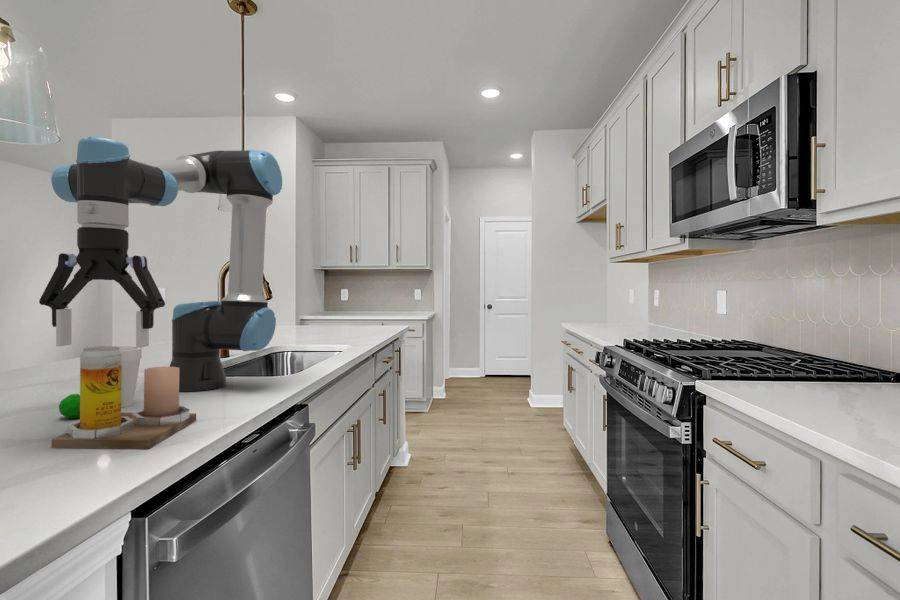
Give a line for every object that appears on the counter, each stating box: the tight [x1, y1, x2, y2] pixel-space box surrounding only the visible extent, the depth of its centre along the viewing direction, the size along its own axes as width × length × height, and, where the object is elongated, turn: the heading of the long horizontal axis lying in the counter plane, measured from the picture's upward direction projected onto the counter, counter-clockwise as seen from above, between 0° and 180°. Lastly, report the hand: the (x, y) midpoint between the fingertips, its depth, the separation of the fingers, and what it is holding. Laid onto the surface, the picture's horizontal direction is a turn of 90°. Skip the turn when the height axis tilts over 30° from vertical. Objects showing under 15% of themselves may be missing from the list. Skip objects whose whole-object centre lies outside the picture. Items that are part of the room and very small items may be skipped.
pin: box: [143, 366, 180, 417], centre depth 98 cm, size 6×6×10 cm
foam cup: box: [114, 345, 143, 408], centre depth 113 cm, size 10×9×13 cm
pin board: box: [50, 411, 197, 450], centre depth 94 cm, size 18×16×2 cm
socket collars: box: [66, 405, 191, 439], centre depth 94 cm, size 17×16×2 cm
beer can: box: [79, 345, 122, 429], centre depth 89 cm, size 6×6×15 cm
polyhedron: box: [58, 393, 80, 420], centre depth 102 cm, size 5×5×5 cm
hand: (103, 346), depth 89 cm, fingers open, 13 cm apart
